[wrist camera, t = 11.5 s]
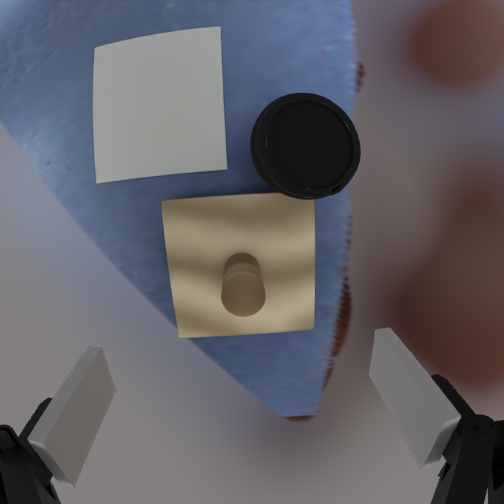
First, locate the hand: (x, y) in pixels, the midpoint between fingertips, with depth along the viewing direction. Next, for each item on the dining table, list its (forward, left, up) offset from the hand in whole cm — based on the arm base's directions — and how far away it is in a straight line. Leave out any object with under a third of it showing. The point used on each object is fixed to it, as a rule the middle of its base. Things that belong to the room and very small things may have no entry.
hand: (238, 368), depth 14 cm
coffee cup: (-10, +6, -25) cm, 28 cm away
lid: (+1, 0, -20) cm, 20 cm away
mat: (-18, -9, -25) cm, 32 cm away
